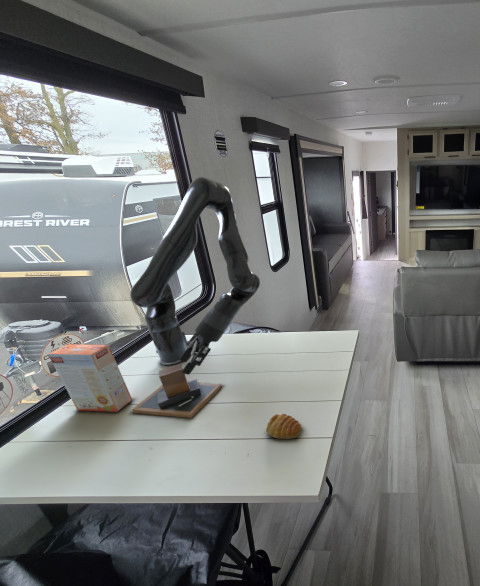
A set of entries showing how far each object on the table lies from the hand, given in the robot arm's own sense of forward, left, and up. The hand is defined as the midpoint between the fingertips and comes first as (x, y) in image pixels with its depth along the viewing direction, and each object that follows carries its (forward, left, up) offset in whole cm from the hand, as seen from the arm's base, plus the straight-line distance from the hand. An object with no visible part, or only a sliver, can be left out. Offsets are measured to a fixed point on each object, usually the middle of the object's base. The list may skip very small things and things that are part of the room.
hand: (183, 366), depth 97 cm
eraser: (+2, -2, -10) cm, 10 cm away
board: (+3, -3, -11) cm, 11 cm away
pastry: (+11, +37, -11) cm, 40 cm away
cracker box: (+8, -25, -11) cm, 28 cm away
